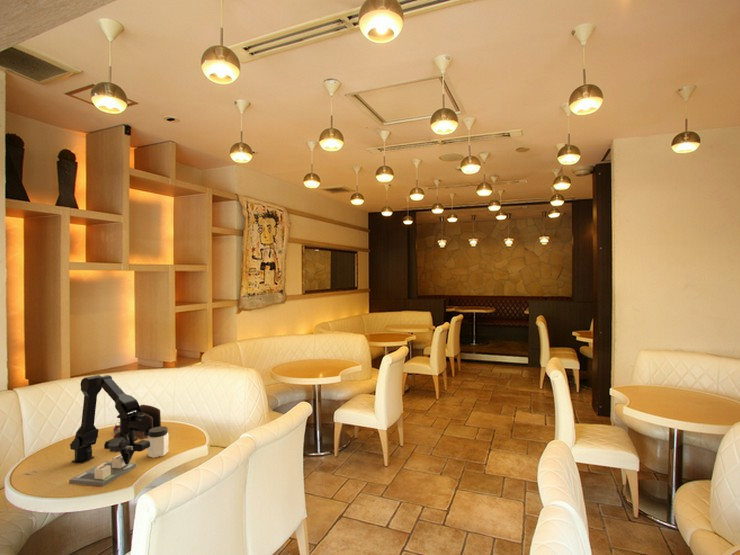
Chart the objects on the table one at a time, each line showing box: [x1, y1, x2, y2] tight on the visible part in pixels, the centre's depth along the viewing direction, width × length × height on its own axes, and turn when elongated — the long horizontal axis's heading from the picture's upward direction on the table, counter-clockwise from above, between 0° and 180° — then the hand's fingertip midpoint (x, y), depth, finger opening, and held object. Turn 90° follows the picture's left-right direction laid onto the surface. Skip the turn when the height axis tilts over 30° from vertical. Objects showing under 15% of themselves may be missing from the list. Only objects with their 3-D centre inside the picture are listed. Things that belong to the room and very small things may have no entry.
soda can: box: [112, 421, 120, 439], centre depth 202 cm, size 7×7×12 cm
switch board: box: [68, 460, 137, 487], centre depth 172 cm, size 16×18×2 cm
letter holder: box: [135, 404, 162, 440], centre depth 222 cm, size 10×20×14 cm, turn 59°
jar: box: [146, 425, 169, 459], centre depth 194 cm, size 9×8×12 cm
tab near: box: [94, 465, 111, 480], centre depth 167 cm, size 4×4×4 cm
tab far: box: [111, 454, 127, 468], centre depth 177 cm, size 4×4×4 cm
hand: (127, 464), depth 176 cm, fingers closed
